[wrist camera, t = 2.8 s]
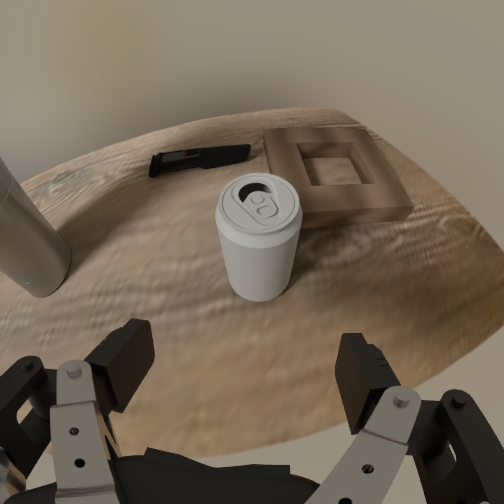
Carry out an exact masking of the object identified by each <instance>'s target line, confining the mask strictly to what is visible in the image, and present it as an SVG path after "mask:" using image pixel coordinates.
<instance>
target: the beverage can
mask: <svg viewBox="0 0 504 504" xmlns="http://www.w3.org/2000/svg"><path fill="white" fill-rule="evenodd" d="M302 216H303V215H302V208H301V205H300V203H299V197H298V194H297V192H296V190H295V189H294V187H293V186H292V185H291V184H290V183H289V182H287V181H286V180H284V179H283V178H281V177H278V176H276V175H272V174H268V173H250V174H245V175H242V176H240V177H237V178H235V179H233V180H232V181H231V182H229V183H228V184H227V185H226V186H225V187H224V188H223V190H222V191H221V193H220V196H219V200H218V204H217V207H216V212H215V218H216V224H217V228H218V233H219V238H220V242H221V247H222V252H223V256H224V261H225V265H226V269H227V274H228V278H229V282H230V284H231V286H232V288H233V289H234V291H235V292H236V293H237V294H239V295H240V296H241V297H243V298H245V299H247V300H251V301H257V302H262V301H268V300H271V299H273V298H275V297H277V296H278V295H280V294H281V293H282V292H283V291H284V290H285V288H286V287H287V285H288V282H289V279H290V275H291V270H292V266H293V261H294V256H295V252H296V247H297V242H298V237H299V233H300V228H301V223H302Z"/></svg>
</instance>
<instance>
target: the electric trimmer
mask: <svg viewBox="0 0 504 504" xmlns="http://www.w3.org/2000/svg"><path fill="white" fill-rule="evenodd" d="M250 148H251V145H250V144H243V145H230V146H219V147H208V148H196V149H188V150H180V151H173V152H166V153H159V154H157V155H156V156H155V155H153V157H152V160H151V165H150V169H149V177H151V176H152V177H153V178H154V177H156V175H157V174H158V173H163V172H168V171H174V170H180V169H186V168H192V167H201V168H204V169H208V168H213V167H218V166H222V165H227V164H231V163H236V162H241V161H245V160H247V158H248V156H249V152H250Z"/></svg>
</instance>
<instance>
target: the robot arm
mask: <svg viewBox="0 0 504 504" xmlns="http://www.w3.org/2000/svg"><path fill="white" fill-rule="evenodd" d="M70 261H71V252H70V248H69V246H68V244H67V243H66V242H65V241H64V240H63V239H62V238H61V236H60V235H59V234H58V233H57V232H56V231H55V230H54V228H53V227H52V226H51V225H50V223H49V222H48V221H47V220H46V219H45V217H44V216H43V215H42V214H41V212H40V211H39V210H38V209H37V207H36V206H35V205H34V204H33V202H32V201H31V200H30V198H29V197H28V196H27V194H26V193H25V192H24V190H23V189H22V188H21V186H20V185H19V184H18V182H17V181H16V179H15V178H14V176H13V175H12V174H11V172H10V171H9V170H8V168H7V166H6V165H5V163H4V162H3V160H2V159H1V157H0V270H1V271H2V272H3V273H4V274H6V275H7V276H8V277H9V278H11V279H12V280H13V281H14V282H16V283H17V284H18V285H20V286H21V287H22V288H24V289H25V290H26V291H28V292H29V293H30V294H32V295H33V296H35V297H45V296H48V295H49V294H51V293H52V292H54V291H55V290H56V289H57V288H58V287H59V285H60V284H61V283H62V281H63V280H64V278H65V276H66V274H67V272H68V269H69V266H70ZM154 357H155V350H154V344H153V338H152V331H151V325H150V322H149V321H147V320H141V319H134V318H132V319H130V320H129V321H128V322H127V323H126V324H125V325H124V326H123V327H120V328H118V329H116V330H114V331H112V332H111V333H110V334H109V335H108V336H107V337H106V338H105V340H103V341H102V342H101V343H100V345H98V346H97V347H96V348H95V349H94V350H93V351H92V352H91V353H90V354H89V355H88V356H87V357H86V358H85V359H84V360H71V361H67V362H65V363H63V364H62V365H61V366H60V367H59V368H58V370H55V369H45V368H44V366H43V363H42V361H41V359H40V358H39V357H37V356H25V357H23V358H21V359H19V360H18V361H16V362H15V363H14V364H13V365H12V366H11V367H10V368H9V369H8V370H7V371H6V372H5V373H4V374H3V375H1V376H0V504H381V503H382V501H383V499H384V497H385V495H386V494H387V492H388V490H389V488H390V486H391V484H392V482H393V480H394V478H395V476H396V474H397V472H398V470H399V468H400V465H401V463H402V461H403V459H404V457H405V455H412V456H413V458H414V462H415V465H416V468H417V471H418V474H419V478H420V481H421V484H422V488H423V491H424V495H425V498H426V502H427V504H504V449H503V447H502V445H501V443H500V441H499V440H498V438H497V436H496V435H495V433H494V431H493V430H492V428H491V426H490V425H489V423H488V422H487V420H486V418H485V417H484V415H483V413H482V412H481V411H480V409H479V407H478V406H477V404H476V403H475V401H474V400H473V398H472V397H471V396H470V395H469V394H468V393H466V392H464V391H462V390H456V389H453V390H448V391H446V392H445V393H444V394H443V396H442V398H441V400H440V401H429V400H428V401H427V400H421V398H420V396H419V394H418V393H417V392H416V391H414V390H413V389H411V388H409V387H405V386H401V384H400V382H399V381H398V379H397V377H396V375H395V374H394V372H393V370H392V368H391V367H390V366H389V363H388V362H387V360H385V357H384V355H383V353H382V351H381V350H380V349H378V348H377V347H376V346H374V345H373V344H367V342H366V340H365V338H364V337H363V335H362V333H343V335H342V337H341V341H340V346H339V351H338V355H337V360H336V365H335V377H336V381H337V385H338V388H339V391H340V395H341V398H342V402H343V405H344V409H345V413H346V416H347V420H348V424H349V427H350V431H351V435H354V434H358V435H357V436H356V438H355V439H354V441H353V442H352V444H351V445H350V447H349V448H348V450H347V451H346V452H345V454H344V456H343V457H342V458H341V459H340V461H339V462H338V463H337V465H336V466H335V467H334V469H333V470H332V471H331V473H330V474H329V475H328V476H327V478H326V479H325V480H324V481H323V483H322V484H321V485H320V484H318V483H316V482H314V481H312V480H310V479H307V478H304V477H301V476H297V475H293V474H290V465H260V464H259V465H258V464H251V465H243V466H233V467H221V468H214V467H210V466H207V465H205V464H202V463H199V462H197V461H194V460H192V459H189V458H187V457H184V456H182V455H179V454H174V453H170V452H165V451H161V450H157V449H153V448H149V447H147V449H146V451H145V454H144V455H132V456H124V457H123V456H122V454H121V451H120V449H119V445H118V442H117V439H116V436H115V433H114V429H113V426H112V422H111V419H110V416H109V413H110V412H111V410H113V411H116V412H119V413H123V411H124V410H125V408H126V406H127V405H128V403H129V402H130V400H131V398H132V397H133V395H134V393H135V392H136V390H137V389H138V387H139V385H140V384H141V382H142V380H143V379H144V377H145V376H146V374H147V372H148V371H149V369H150V368H151V366H152V364H153V362H154ZM27 399H28V400H29V402H30V403H31V405H32V407H33V408H32V410H31V411H30V412H29V413H28V415H27V416H26V417H25V418H24V420H23V421H22V422H21V423H20V425H19V423H18V421H17V412H18V410H19V409H20V407H21V406H22V405H23V404H24V403H25V401H26V400H27ZM50 441H51V442H52V453H53V462H54V469H55V475H56V482H54V483H51V484H48V485H45V486H41V487H38V488H34V489H31V490H27V489H26V479H27V478H28V476H29V475H30V473H31V471H32V470H33V468H34V466H35V465H36V463H37V461H38V460H39V458H40V457H41V455H42V453H43V452H44V450H45V449H46V447H47V446H48V444H49V443H50ZM450 444H451V446H452V448H453V450H454V452H455V455H456V461H455V459H454V456H453V454H452V452H451V450H450V447H449V445H450Z"/></svg>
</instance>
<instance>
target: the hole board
mask: <svg viewBox="0 0 504 504" xmlns="http://www.w3.org/2000/svg"><path fill="white" fill-rule="evenodd" d="M263 145H264V149H265V153H266V157H267V161H268V165H269V170H270V174H272V175H276V176H278V177H281V178H283V179H284V180H286V181H287V182H289V183H290V184H291V185H292V186H293V187H294V189H295V190H296V192H297V194H298V197H299V203H300V205H301V208H302V215H303V216H302V223H301V228H300V229H307V228H318V227H329V226H340V225H352V224H364V223H376V222H389V221H402V220H405V219H406V217H407V215H408V214H409V212H410V210H411V209H412V207H413V205H412V203H411V201H410V199H409V197H408V196H407V194H406V192H405V190H404V189H403V187H402V185H401V183H400V182H399V180H398V178H397V177H396V175H395V173H394V172H393V170H392V168H391V167H390V165H389V164H388V162H387V160H386V159H385V157H384V156H383V154H382V153H381V151H380V150H379V148H378V147H377V145H376V144H375V142H374V141H373V139H372V138H371V136H370V135H369V134H368V132H367V131H366V129H356V128H277V129H263ZM320 157H349V159H350V160H351V162H352V164H353V166H354V168H355V170H356V172H357V174H358V176H359V177H360V179H361V181H362V183H363V184H347V185H324V186H311V183H310V180H309V177H308V175H307V172H306V169H305V166H304V164H303V161H302V159H301V158H320Z"/></svg>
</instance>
